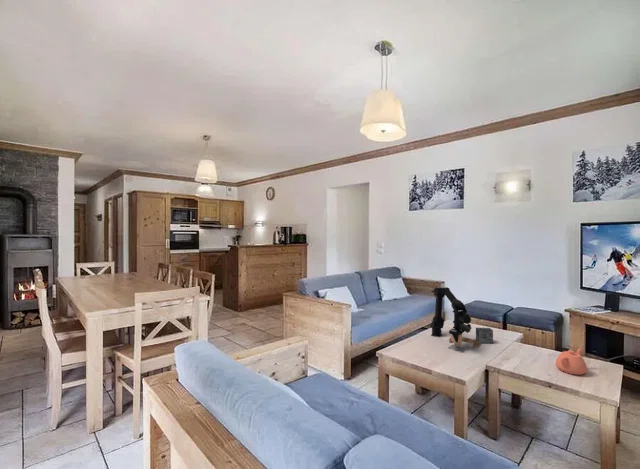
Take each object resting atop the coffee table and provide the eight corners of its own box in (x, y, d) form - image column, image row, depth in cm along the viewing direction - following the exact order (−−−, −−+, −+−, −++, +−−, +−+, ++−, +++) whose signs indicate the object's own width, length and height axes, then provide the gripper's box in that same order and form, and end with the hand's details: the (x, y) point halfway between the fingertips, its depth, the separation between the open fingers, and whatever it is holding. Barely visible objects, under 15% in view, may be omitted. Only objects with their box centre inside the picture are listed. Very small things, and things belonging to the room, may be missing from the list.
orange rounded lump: (566, 362, 207) (567, 343, 207) (595, 371, 194) (595, 351, 194) (548, 369, 197) (548, 349, 197) (576, 379, 184) (577, 358, 184)
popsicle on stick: (460, 346, 228) (460, 335, 228) (449, 344, 233) (449, 333, 233) (462, 344, 232) (463, 333, 232) (452, 342, 237) (452, 331, 237)
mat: (448, 348, 232) (448, 347, 232) (452, 344, 239) (452, 344, 239) (463, 352, 225) (463, 351, 225) (468, 348, 231) (468, 348, 231)
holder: (449, 342, 243) (449, 338, 243) (454, 338, 252) (454, 335, 251) (474, 348, 231) (474, 344, 231) (479, 344, 239) (479, 340, 239)
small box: (489, 341, 247) (489, 327, 247) (493, 344, 240) (493, 330, 240) (475, 340, 248) (475, 327, 248) (478, 343, 241) (478, 329, 241)
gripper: (465, 325, 219) (465, 347, 219) (474, 319, 233) (474, 340, 233) (448, 321, 227) (448, 343, 227) (458, 316, 240) (458, 337, 241)
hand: (458, 341), depth 232 cm, fingers closed on popsicle on stick, 5 cm apart
